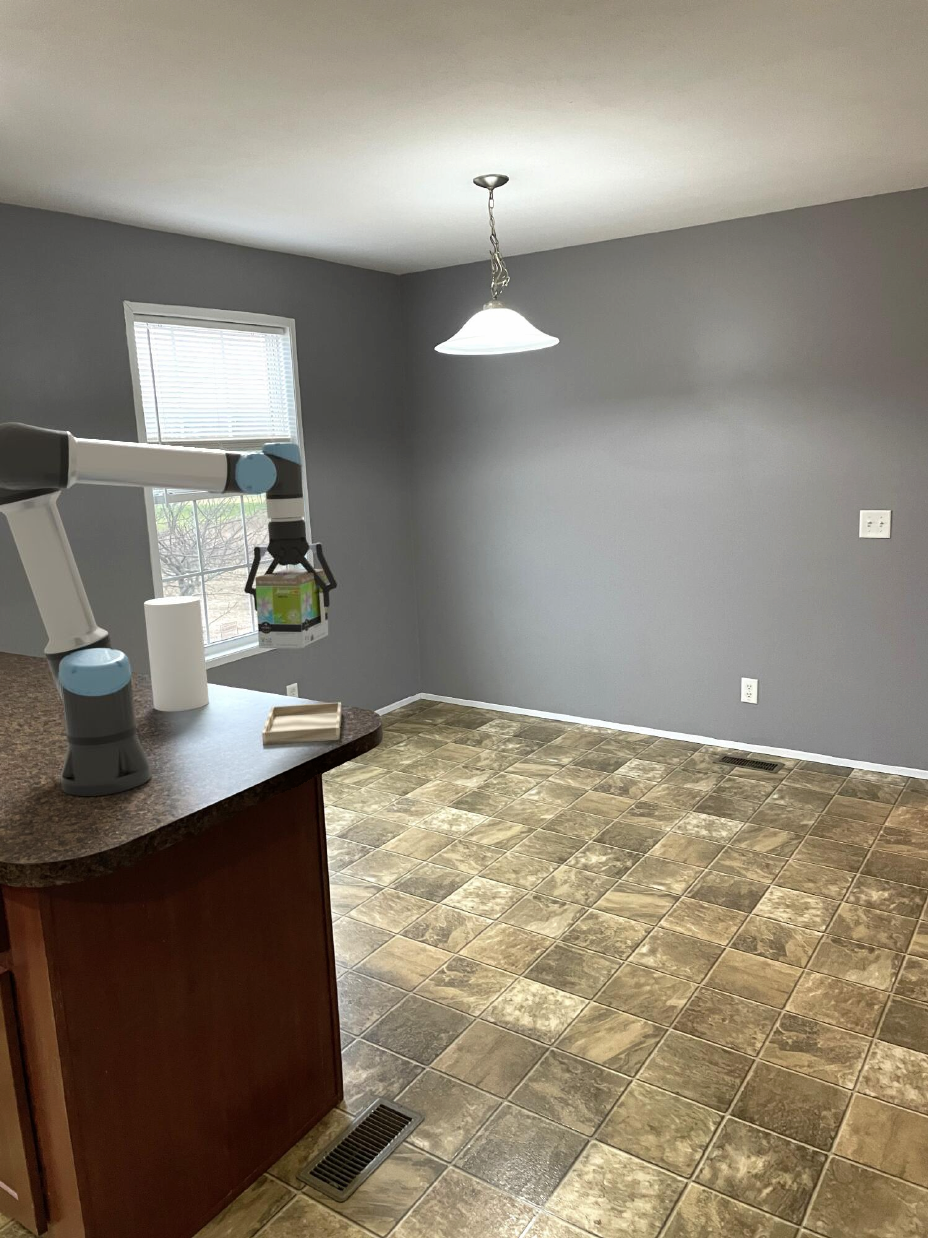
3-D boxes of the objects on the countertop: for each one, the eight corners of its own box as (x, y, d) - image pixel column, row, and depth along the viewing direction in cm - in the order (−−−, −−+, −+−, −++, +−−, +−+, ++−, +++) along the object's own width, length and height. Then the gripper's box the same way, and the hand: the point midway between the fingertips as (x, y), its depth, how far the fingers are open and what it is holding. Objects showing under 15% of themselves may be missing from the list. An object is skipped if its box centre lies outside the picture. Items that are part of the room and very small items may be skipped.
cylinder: (215, 696, 227) (206, 595, 223) (199, 710, 215) (190, 603, 210) (164, 698, 227) (154, 597, 223) (146, 712, 215) (135, 605, 211)
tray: (339, 739, 188) (338, 727, 187) (262, 744, 186) (262, 732, 186) (341, 713, 208) (341, 702, 207) (272, 717, 206) (271, 706, 206)
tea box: (304, 649, 186) (299, 576, 184) (258, 649, 188) (252, 576, 186) (330, 635, 201) (326, 567, 198) (286, 635, 203) (281, 567, 200)
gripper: (345, 515, 195) (351, 618, 199) (229, 521, 192) (237, 624, 196) (345, 517, 188) (351, 624, 191) (224, 523, 185) (233, 631, 189)
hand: (293, 624), depth 194 cm, fingers closed on tea box, 11 cm apart
